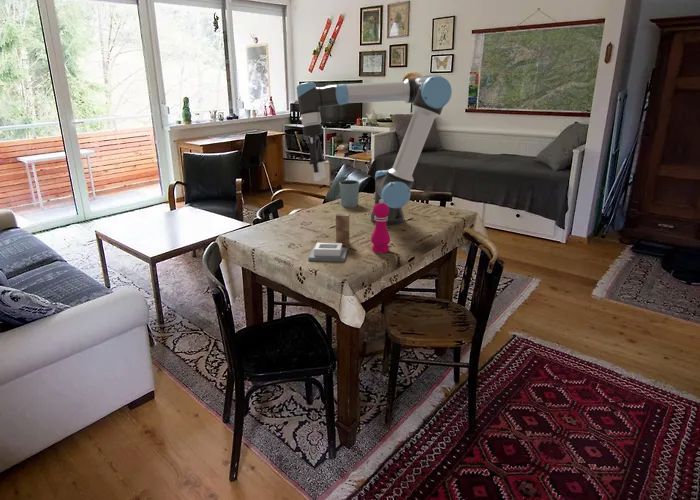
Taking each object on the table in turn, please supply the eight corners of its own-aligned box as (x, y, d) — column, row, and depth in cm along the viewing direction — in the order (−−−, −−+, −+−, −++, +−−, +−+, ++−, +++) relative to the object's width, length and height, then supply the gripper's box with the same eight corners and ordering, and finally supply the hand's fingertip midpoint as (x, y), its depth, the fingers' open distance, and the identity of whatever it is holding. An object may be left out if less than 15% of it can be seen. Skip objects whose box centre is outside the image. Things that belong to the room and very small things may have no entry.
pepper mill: (369, 247, 180) (370, 196, 173) (388, 246, 181) (389, 196, 174) (372, 254, 173) (372, 201, 166) (391, 253, 174) (392, 201, 167)
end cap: (347, 250, 177) (347, 241, 176) (344, 261, 167) (344, 251, 165) (313, 249, 178) (313, 240, 177) (308, 260, 168) (308, 251, 166)
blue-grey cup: (363, 204, 240) (363, 181, 235) (350, 208, 233) (350, 185, 228) (348, 201, 246) (348, 179, 242) (335, 205, 239) (334, 182, 235)
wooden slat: (349, 243, 185) (349, 214, 181) (348, 245, 183) (348, 215, 178) (337, 242, 185) (336, 213, 181) (336, 244, 183) (335, 215, 179)
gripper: (307, 127, 194) (316, 178, 198) (296, 125, 169) (306, 183, 174) (325, 124, 193) (333, 175, 197) (316, 122, 169) (325, 180, 173)
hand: (320, 179), depth 186 cm, fingers open, 13 cm apart
